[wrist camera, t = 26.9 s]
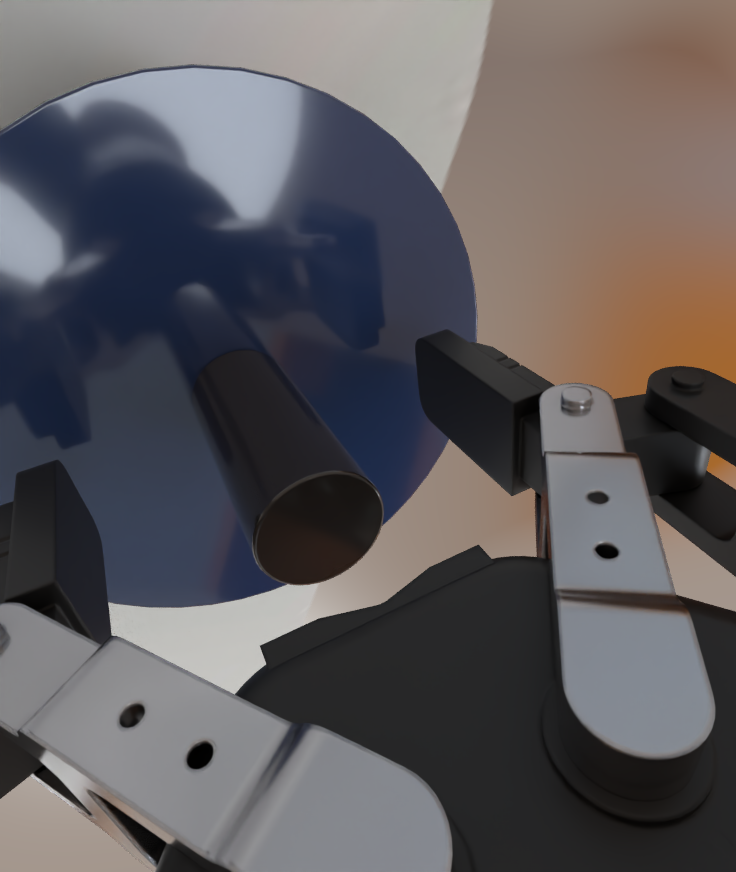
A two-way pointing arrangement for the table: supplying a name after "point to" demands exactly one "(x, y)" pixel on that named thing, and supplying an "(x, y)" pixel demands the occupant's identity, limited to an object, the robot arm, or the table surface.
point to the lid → (221, 324)
